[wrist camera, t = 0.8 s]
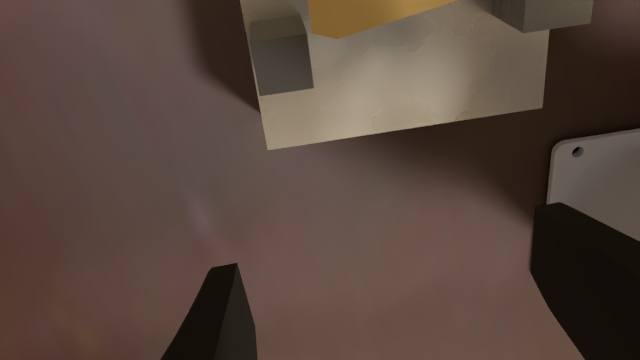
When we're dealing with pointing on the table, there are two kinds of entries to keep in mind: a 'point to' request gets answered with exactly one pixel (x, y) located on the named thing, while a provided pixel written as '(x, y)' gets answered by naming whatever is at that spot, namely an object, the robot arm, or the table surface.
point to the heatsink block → (415, 68)
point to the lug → (281, 55)
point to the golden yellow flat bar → (361, 14)
